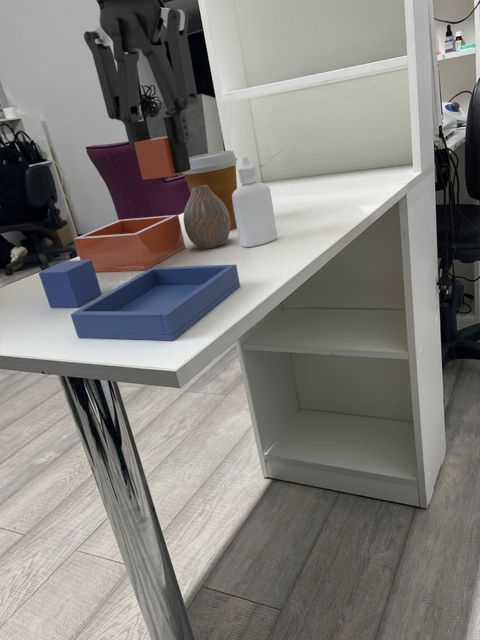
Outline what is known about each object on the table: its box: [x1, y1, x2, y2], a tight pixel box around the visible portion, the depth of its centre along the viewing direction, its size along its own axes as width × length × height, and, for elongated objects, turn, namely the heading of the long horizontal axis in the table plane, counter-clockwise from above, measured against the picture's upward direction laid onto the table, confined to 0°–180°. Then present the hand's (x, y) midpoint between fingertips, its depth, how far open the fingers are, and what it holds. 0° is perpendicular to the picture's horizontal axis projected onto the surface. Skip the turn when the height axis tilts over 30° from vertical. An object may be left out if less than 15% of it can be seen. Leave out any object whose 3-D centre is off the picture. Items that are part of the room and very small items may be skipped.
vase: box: [183, 185, 231, 250], centre depth 81 cm, size 7×7×9 cm
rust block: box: [134, 135, 190, 180], centre depth 69 cm, size 4×4×4 cm
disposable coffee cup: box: [182, 150, 238, 231], centre depth 91 cm, size 10×10×12 cm
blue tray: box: [69, 264, 241, 341], centre depth 58 cm, size 12×15×3 cm
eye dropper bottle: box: [232, 156, 278, 248], centre depth 77 cm, size 4×6×12 cm
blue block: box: [38, 259, 103, 309], centre depth 66 cm, size 4×4×4 cm
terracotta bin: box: [73, 214, 186, 273], centre depth 81 cm, size 11×11×5 cm
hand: (166, 172), depth 70 cm, fingers closed on rust block, 4 cm apart
